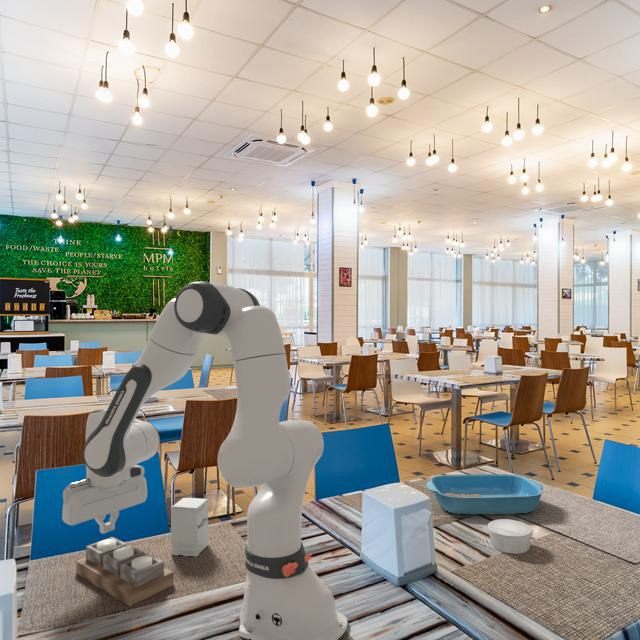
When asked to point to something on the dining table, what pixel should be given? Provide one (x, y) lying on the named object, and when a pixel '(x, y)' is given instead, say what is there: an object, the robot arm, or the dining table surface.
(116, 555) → the knob middle
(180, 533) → the supplement box
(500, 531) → the ramekin
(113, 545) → the knob far
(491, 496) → the casserole dish
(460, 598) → the dining table surface
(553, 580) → the dining table surface
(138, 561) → the knob near
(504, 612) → the dining table surface
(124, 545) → the knob mount
